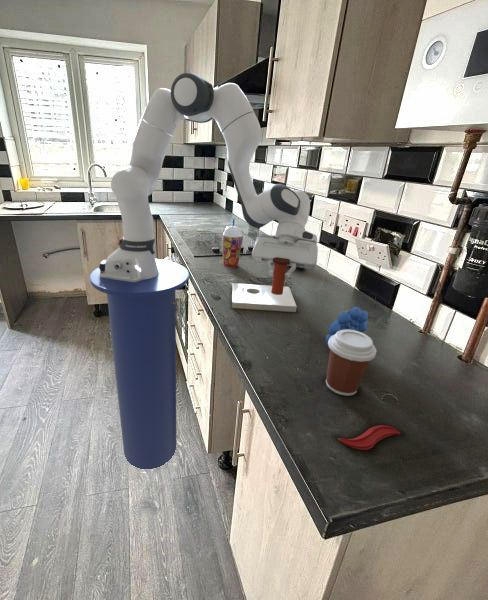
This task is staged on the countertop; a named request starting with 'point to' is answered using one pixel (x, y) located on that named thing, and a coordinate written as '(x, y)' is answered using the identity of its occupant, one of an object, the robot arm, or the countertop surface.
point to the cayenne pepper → (370, 437)
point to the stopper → (279, 275)
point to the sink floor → (261, 298)
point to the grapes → (349, 322)
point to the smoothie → (232, 245)
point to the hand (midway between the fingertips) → (279, 275)
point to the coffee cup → (348, 360)
